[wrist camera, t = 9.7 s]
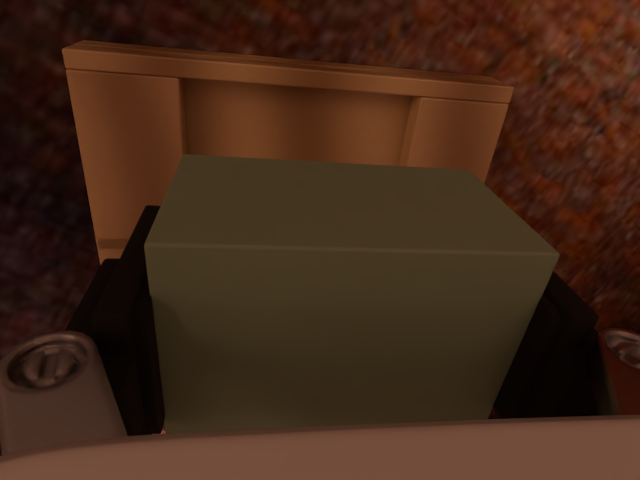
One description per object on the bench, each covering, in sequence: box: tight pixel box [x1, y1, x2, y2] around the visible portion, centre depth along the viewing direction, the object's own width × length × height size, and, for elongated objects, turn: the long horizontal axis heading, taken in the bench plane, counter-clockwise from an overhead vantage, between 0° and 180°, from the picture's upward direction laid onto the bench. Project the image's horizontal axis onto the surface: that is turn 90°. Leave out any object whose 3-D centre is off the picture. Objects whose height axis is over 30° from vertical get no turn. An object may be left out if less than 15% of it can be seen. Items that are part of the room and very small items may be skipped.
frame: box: [62, 40, 514, 265], centre depth 18 cm, size 15×14×5 cm
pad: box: [144, 154, 560, 434], centre depth 10 cm, size 7×5×4 cm
